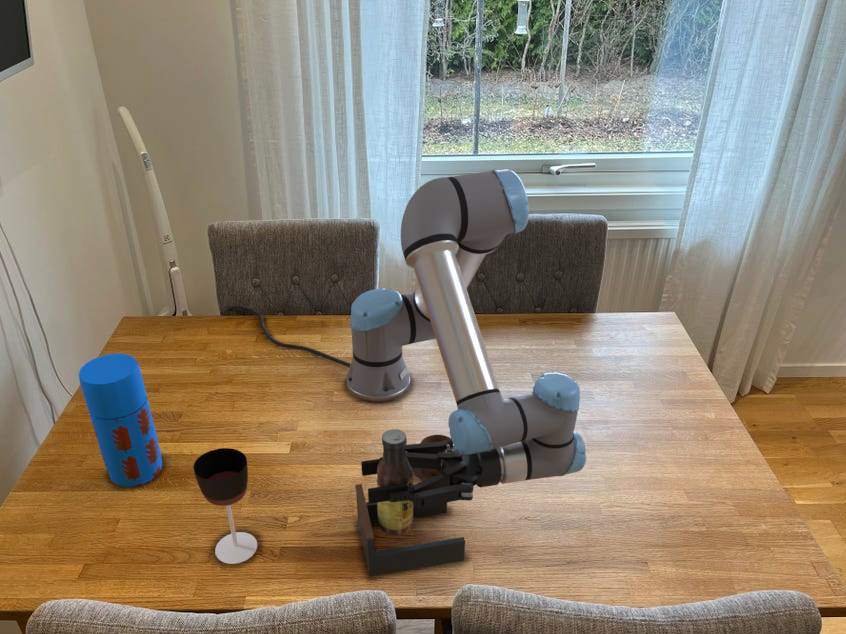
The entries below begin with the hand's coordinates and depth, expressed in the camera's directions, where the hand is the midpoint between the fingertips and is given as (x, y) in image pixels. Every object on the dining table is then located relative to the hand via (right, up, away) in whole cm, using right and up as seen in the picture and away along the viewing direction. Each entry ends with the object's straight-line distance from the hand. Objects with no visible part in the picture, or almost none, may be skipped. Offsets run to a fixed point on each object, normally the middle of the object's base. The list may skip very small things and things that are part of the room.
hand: (365, 482), depth 121 cm
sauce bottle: (+5, -9, +7) cm, 12 cm away
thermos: (-49, -2, +27) cm, 56 cm away
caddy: (+7, -13, +10) cm, 18 cm away
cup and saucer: (+14, -2, +26) cm, 30 cm away
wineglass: (-24, -14, +9) cm, 29 cm away
